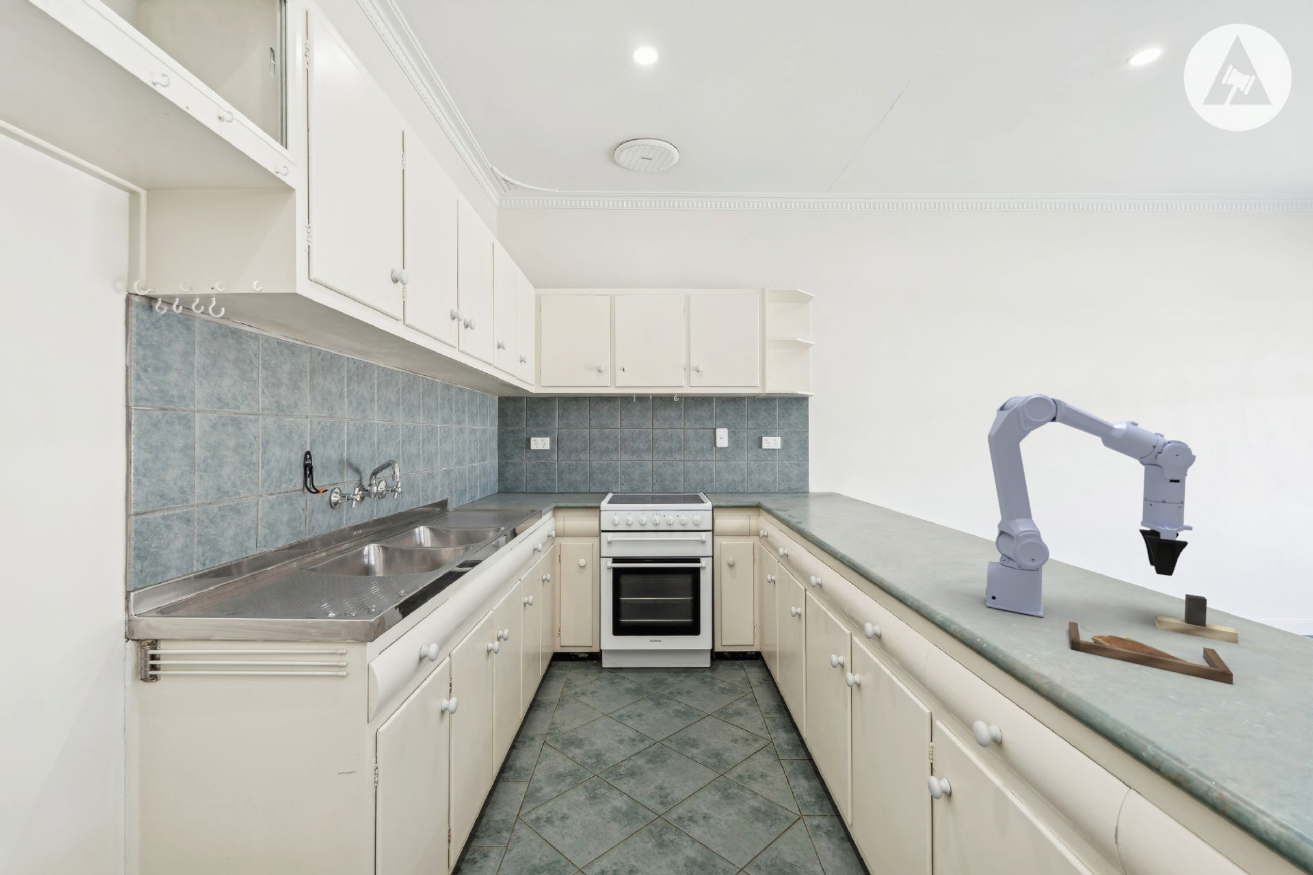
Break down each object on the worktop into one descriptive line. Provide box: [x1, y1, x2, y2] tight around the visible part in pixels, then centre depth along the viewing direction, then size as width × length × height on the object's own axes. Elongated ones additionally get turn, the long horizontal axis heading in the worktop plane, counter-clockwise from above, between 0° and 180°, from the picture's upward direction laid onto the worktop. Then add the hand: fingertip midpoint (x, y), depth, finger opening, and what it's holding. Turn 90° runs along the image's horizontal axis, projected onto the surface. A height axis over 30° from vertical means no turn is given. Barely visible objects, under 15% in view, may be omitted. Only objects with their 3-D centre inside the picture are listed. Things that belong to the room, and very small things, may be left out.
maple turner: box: [1155, 593, 1239, 644], centre depth 93 cm, size 10×3×7 cm, turn 52°
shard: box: [1091, 634, 1188, 662], centre depth 83 cm, size 11×8×2 cm
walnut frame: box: [1068, 621, 1234, 685], centre depth 84 cm, size 18×11×2 cm, turn 52°
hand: (1160, 570), depth 99 cm, fingers open, 7 cm apart
